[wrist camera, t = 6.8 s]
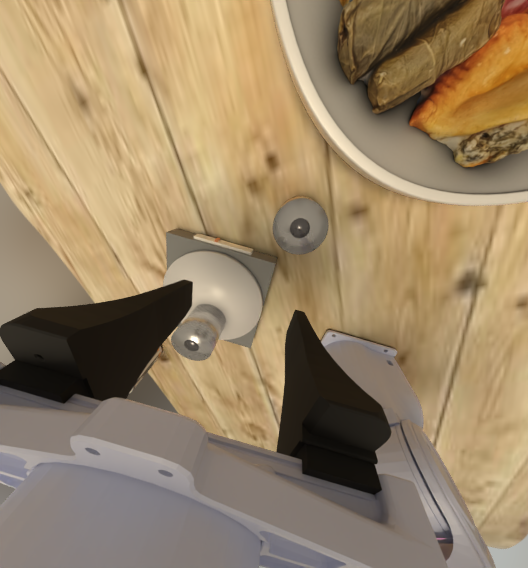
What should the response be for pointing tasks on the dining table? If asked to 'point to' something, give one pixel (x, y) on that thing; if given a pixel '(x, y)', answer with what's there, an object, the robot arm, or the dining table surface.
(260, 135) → the dining table surface
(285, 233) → the near steel spacer
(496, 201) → the bowl
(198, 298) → the kitchen scale
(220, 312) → the cylinder
